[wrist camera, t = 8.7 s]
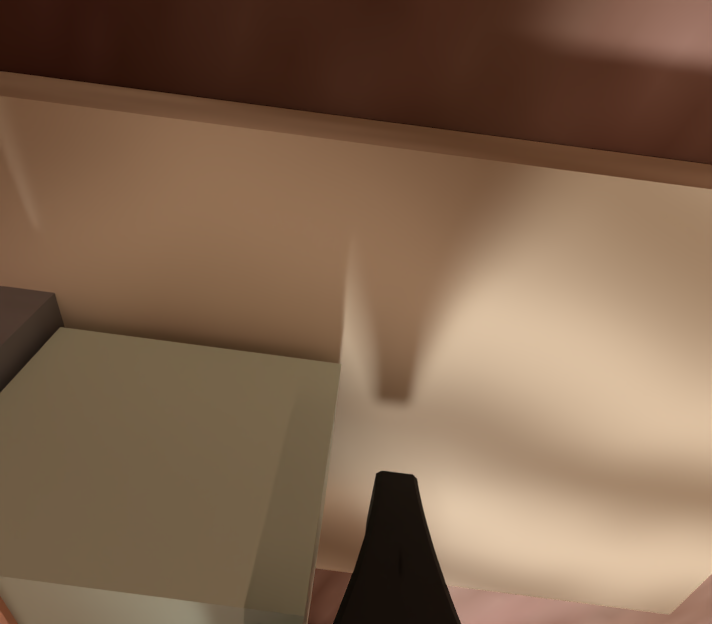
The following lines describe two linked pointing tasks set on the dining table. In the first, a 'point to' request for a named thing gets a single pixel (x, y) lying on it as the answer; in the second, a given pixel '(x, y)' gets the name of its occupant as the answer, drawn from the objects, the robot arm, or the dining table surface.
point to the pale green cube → (162, 483)
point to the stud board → (402, 313)
